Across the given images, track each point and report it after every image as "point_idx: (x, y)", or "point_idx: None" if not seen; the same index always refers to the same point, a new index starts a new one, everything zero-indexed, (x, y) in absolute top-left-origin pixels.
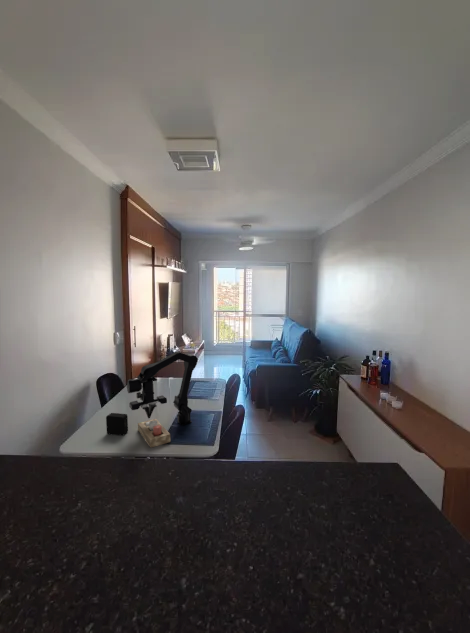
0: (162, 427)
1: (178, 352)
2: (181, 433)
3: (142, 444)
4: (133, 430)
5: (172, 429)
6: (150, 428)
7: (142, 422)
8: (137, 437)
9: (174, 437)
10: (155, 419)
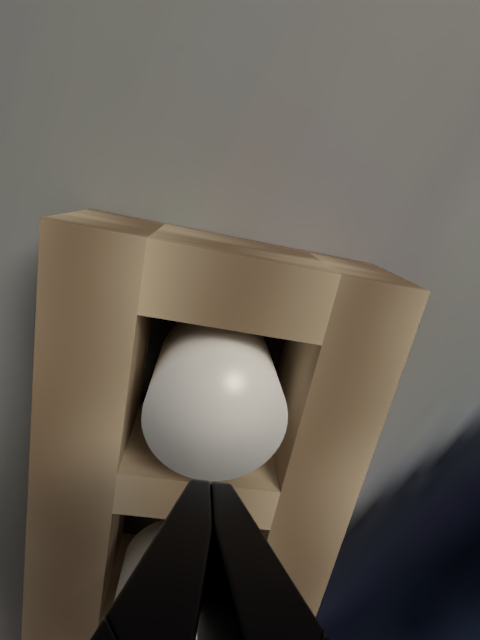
0: None
1: None
2: (425, 612)
3: (5, 573)
4: (24, 155)
5: (431, 496)
6: None
7: (137, 261)
8: (7, 406)
9: (327, 633)
10: (401, 319)
